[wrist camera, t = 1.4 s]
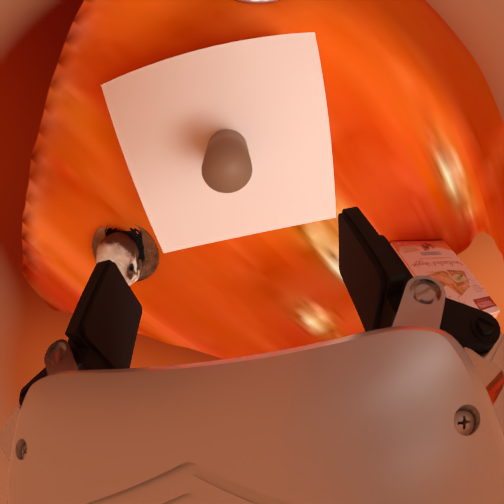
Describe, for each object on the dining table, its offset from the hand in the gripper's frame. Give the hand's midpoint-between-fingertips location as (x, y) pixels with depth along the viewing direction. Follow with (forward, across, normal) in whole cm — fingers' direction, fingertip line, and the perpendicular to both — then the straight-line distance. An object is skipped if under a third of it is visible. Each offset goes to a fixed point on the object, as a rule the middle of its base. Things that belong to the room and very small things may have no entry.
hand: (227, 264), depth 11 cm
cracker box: (+28, -30, +28) cm, 50 cm away
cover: (+28, 0, 0) cm, 28 cm away
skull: (+28, +21, +15) cm, 39 cm away
